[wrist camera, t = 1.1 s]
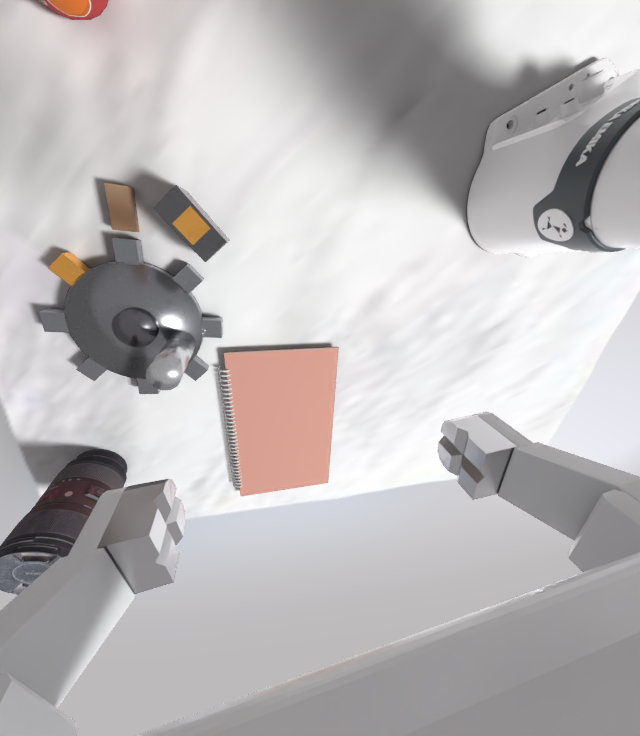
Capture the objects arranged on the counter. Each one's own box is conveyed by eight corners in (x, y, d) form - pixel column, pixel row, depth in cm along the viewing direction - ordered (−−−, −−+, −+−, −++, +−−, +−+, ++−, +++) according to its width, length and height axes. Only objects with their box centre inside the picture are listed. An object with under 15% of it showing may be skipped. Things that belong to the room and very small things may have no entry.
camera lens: (66, 442, 39) (-27, 552, 26) (133, 447, 41) (80, 549, 28) (68, 485, 42) (-14, 602, 29) (131, 487, 44) (82, 595, 31)
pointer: (110, 184, 28) (103, 182, 26) (133, 188, 28) (127, 186, 27) (118, 229, 29) (112, 229, 28) (139, 231, 30) (134, 231, 29)
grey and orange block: (186, 191, 29) (176, 184, 25) (229, 240, 32) (226, 242, 28) (166, 210, 30) (152, 208, 25) (211, 257, 33) (205, 262, 28)
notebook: (216, 348, 38) (214, 354, 36) (335, 343, 42) (339, 348, 40) (234, 489, 50) (234, 498, 48) (325, 475, 54) (328, 483, 52)
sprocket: (122, 197, 28) (63, 183, 19) (252, 327, 37) (254, 359, 28) (7, 316, 30) (-95, 354, 21) (156, 411, 39) (128, 467, 30)
